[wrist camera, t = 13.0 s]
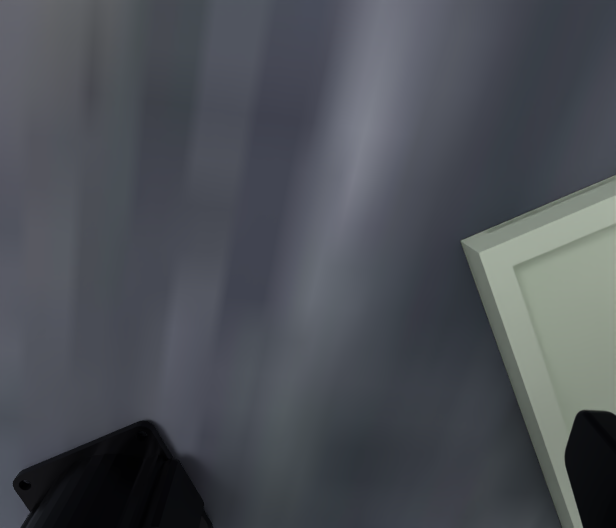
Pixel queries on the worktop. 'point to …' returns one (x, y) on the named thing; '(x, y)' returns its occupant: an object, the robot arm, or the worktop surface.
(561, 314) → the tray
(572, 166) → the worktop surface
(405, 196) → the worktop surface
